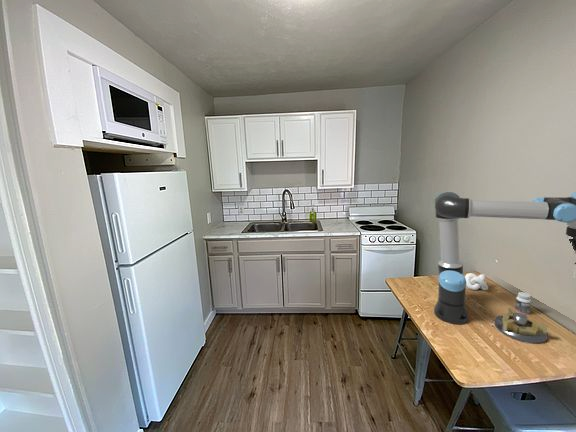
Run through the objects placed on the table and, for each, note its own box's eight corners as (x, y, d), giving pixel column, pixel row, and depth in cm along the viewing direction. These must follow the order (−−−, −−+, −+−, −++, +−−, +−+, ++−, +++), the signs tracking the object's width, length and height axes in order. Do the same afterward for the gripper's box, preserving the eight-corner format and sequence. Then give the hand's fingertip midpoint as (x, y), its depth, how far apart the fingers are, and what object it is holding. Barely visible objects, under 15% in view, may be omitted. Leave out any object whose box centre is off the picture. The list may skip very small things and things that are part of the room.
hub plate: (499, 337, 111) (500, 334, 110) (490, 315, 126) (490, 312, 126) (554, 348, 102) (555, 344, 102) (537, 322, 117) (537, 319, 117)
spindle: (514, 331, 113) (515, 317, 112) (511, 325, 117) (512, 312, 116) (527, 334, 111) (529, 319, 109) (523, 328, 115) (525, 314, 113)
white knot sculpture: (467, 292, 148) (467, 278, 147) (461, 282, 159) (461, 270, 157) (489, 293, 144) (490, 280, 142) (481, 284, 155) (482, 271, 153)
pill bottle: (513, 307, 130) (515, 290, 128) (527, 309, 128) (529, 292, 126) (517, 313, 125) (518, 296, 123) (531, 315, 123) (534, 298, 121)
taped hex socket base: (499, 329, 113) (500, 321, 112) (505, 313, 123) (506, 305, 122) (545, 344, 102) (546, 335, 101) (547, 326, 112) (548, 317, 111)
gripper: (607, 236, 94) (597, 285, 98) (581, 221, 114) (574, 262, 118) (578, 234, 98) (570, 282, 102) (558, 220, 118) (552, 260, 122)
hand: (572, 271), depth 110 cm, fingers open, 13 cm apart
